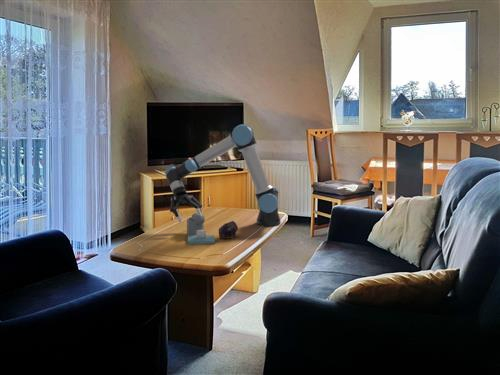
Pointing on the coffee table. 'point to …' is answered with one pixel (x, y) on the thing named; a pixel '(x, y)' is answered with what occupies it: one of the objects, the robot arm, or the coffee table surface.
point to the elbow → (195, 224)
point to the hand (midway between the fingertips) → (191, 219)
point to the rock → (228, 230)
